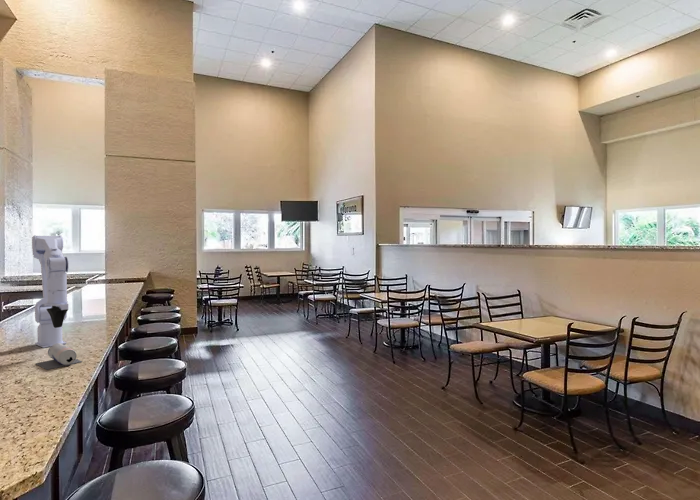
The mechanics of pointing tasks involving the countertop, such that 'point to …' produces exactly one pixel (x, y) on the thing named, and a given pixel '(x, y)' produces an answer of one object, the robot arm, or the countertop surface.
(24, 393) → the countertop surface
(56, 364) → the mat
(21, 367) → the countertop surface
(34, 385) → the countertop surface
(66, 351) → the energy drink
